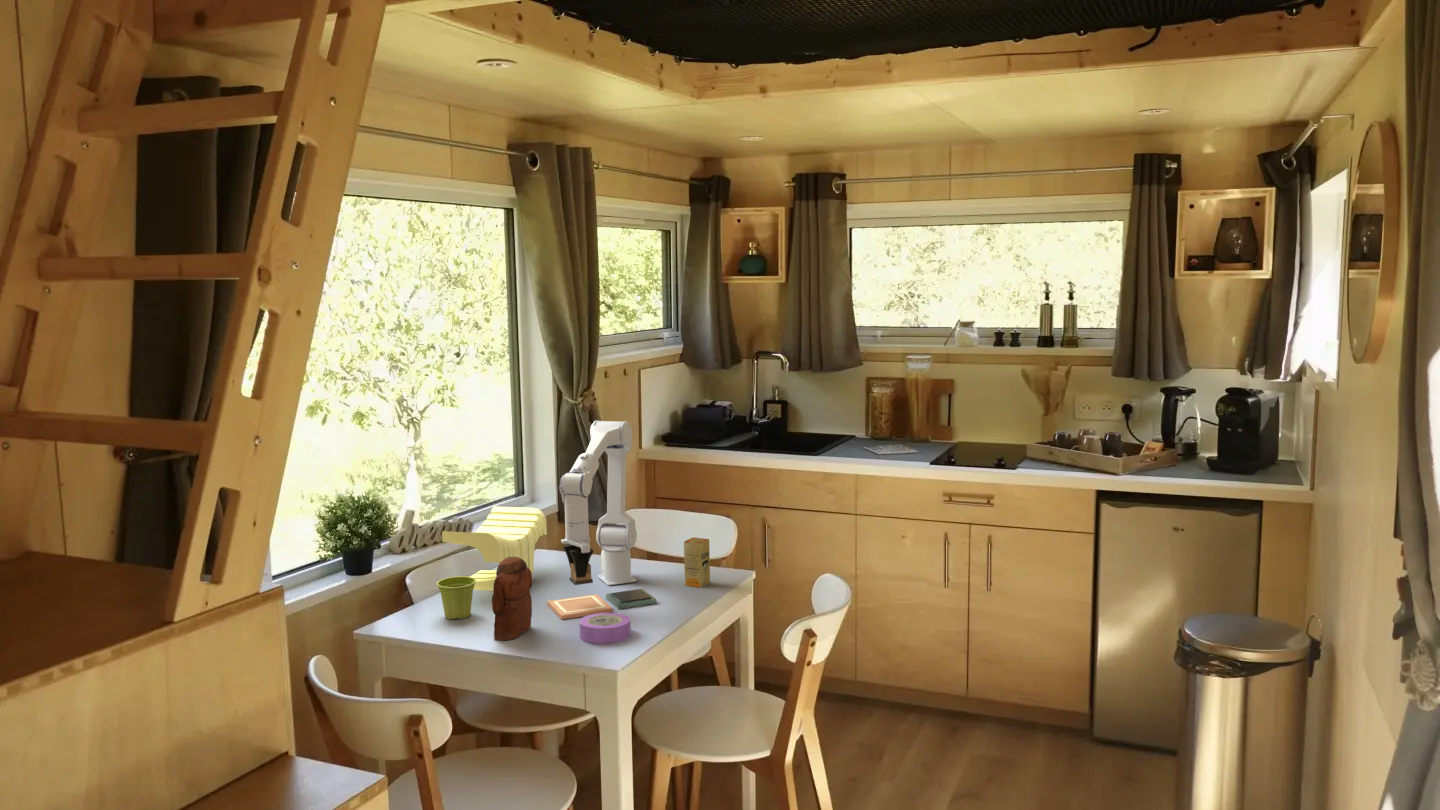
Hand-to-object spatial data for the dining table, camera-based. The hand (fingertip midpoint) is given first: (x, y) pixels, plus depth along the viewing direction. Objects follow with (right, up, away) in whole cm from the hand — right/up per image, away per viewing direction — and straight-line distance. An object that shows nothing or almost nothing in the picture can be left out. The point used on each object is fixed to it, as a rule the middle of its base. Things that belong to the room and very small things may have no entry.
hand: (578, 574), depth 266 cm
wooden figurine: (-13, -11, -17) cm, 24 cm away
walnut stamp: (+1, -2, +1) cm, 2 cm away
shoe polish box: (+29, -6, +21) cm, 36 cm away
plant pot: (-29, -10, -3) cm, 31 cm away
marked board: (0, -9, +1) cm, 9 cm away
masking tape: (+9, -11, -19) cm, 24 cm away
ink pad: (+12, -8, +7) cm, 16 cm away
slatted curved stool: (-25, -7, +24) cm, 35 cm away
